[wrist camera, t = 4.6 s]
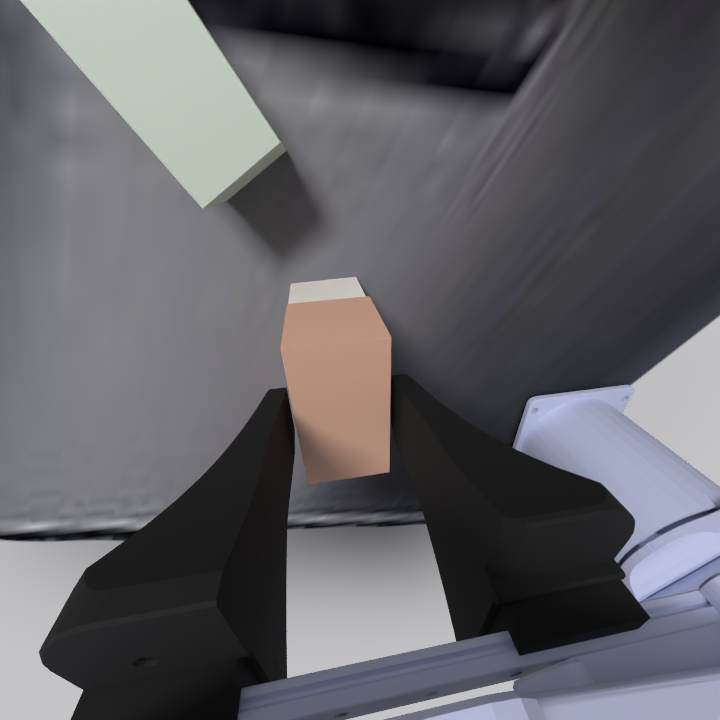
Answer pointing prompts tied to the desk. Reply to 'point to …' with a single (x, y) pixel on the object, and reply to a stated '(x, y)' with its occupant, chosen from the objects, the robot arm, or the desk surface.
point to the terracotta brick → (339, 386)
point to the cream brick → (325, 290)
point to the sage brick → (168, 88)
